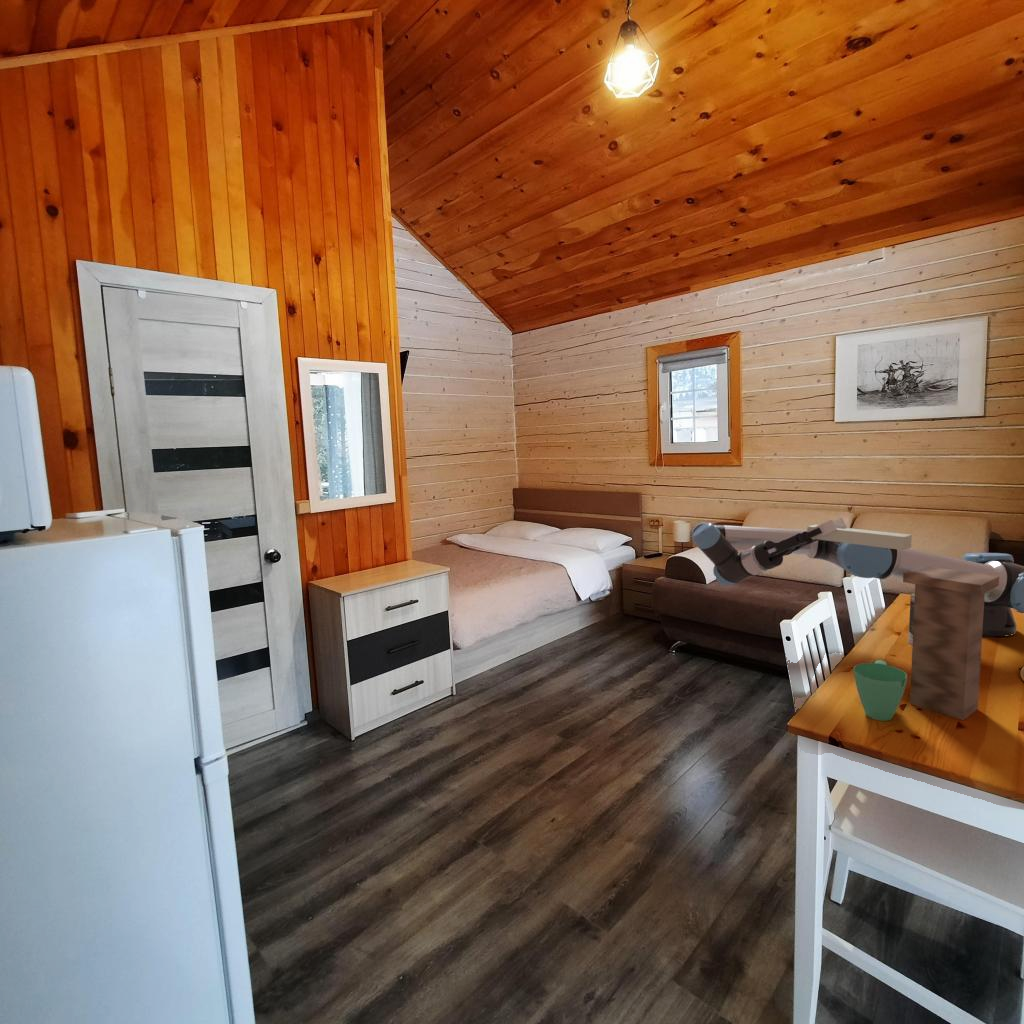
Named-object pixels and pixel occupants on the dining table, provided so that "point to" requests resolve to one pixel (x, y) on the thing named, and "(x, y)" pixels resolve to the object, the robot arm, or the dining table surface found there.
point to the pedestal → (947, 638)
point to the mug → (880, 688)
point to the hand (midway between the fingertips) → (838, 523)
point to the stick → (868, 538)
